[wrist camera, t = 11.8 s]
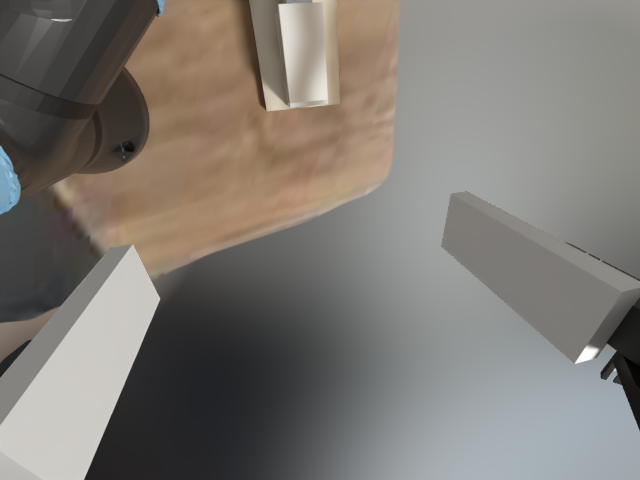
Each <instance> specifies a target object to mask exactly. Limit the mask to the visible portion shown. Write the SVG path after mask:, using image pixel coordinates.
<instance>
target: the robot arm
mask: <svg viewBox="0 0 640 480" xmlns="http://www.w3.org/2000/svg"><path fill="white" fill-rule="evenodd" d="M164 2H165V0H0V214H2V213H4V212H7V211H9V210H10V209H11V208H12V207H13V206H14V205H16V204H17V203H19V202H21V201H23V200H25V199H27V198H28V197H30V196H32V195H34V194H36V193H38V192H40V191H42V190H43V189H45V188H47V187H49V186H51V185H53V184H55V183H57V182H58V181H60V180H62V179H64V178H66V177H68V176H70V175H72V174H73V173H78V174H98V173H105V172H109V171H112V170H115V169H118V168H120V167H122V166H124V165H125V164H127V163H128V162H130V161H131V160H133V159H134V158H135V157H136V156H137V155H138V154H139V153H140V152H141V150H142V149H143V147H144V145H145V143H146V141H147V138H148V134H149V113H148V108H147V105H146V102H145V99H144V96H143V94H142V92H141V90H140V88H139V86H138V84H137V83H136V81H135V80H134V78H133V77H132V75H131V74H130V73H129V72H128V70H127V69H126V68H125V67H124V66H125V64H126V63H127V61H128V59H129V58H130V56H131V55H132V53H133V51H134V50H135V48H136V47H137V45H138V43H139V42H140V40H141V39H142V37H143V35H144V34H145V32H146V31H147V29H148V27H149V26H150V24H151V23H152V21H153V19H154V18H155V16H157V17H160V16H161V15H162V13H163V11H164ZM441 247H443V248H444V249H445V250H446V251H447V252H448V253H450V254H451V255H452V256H453V257H454V258H455V259H456V260H457V261H458V262H460V263H461V264H462V265H463V266H464V267H465V268H467V269H468V270H469V271H470V272H471V273H472V274H473V275H475V276H476V277H477V278H478V279H479V280H480V281H481V282H482V283H483V284H485V285H486V286H487V287H488V288H489V289H490V290H491V291H493V292H494V293H495V294H496V295H497V296H498V297H499V298H500V299H502V300H503V301H504V302H505V303H506V304H507V305H509V306H510V307H511V308H512V309H513V310H514V311H515V312H516V313H518V314H519V315H520V316H521V317H522V318H523V319H524V320H526V321H527V322H528V323H529V324H530V325H531V326H532V327H533V328H535V329H536V330H537V331H538V332H539V333H540V334H541V335H543V336H544V337H545V338H546V339H547V340H548V341H549V342H551V343H552V344H553V345H554V346H555V347H556V348H557V349H558V350H560V351H561V352H562V353H563V354H564V355H565V356H566V357H567V358H569V359H570V360H571V361H572V362H573V363H574V364H576V363H579V362H583V361H587V360H590V359H594V358H597V357H598V355H599V354H600V352H601V351H602V350H603V348H604V347H605V345H606V344H609V345H610V346H611V347H613V348H614V349H615V350H617V351H616V353H615V354H614V355H613V357H612V358H611V359H610V361H609V362H608V363H607V365H606V366H605V367H604V368H603V370H602V371H601V379H605V380H606V379H607V378H608V377H609V375H610V374H611V373H612V371H617V373H618V375H617V376H616V377H615V379H614V380H613V382H614V383H617V384H621V385H622V386H623V389H624V391H625V394H626V397H627V399H628V402H629V404H630V407H631V409H632V412H633V415H634V417H635V420H636V422H637V425H638V427H639V430H640V280H639V279H637V278H635V277H633V276H631V275H629V274H628V273H626V272H624V271H622V270H620V269H618V268H616V267H614V266H612V265H610V264H608V263H606V262H604V261H600V259H598V258H596V257H595V256H593V255H591V254H586V252H585V251H583V250H581V249H579V248H577V247H575V246H573V245H571V244H569V243H566V242H563V241H561V240H559V239H557V238H555V237H553V236H552V235H550V234H548V233H546V232H544V231H542V230H540V229H538V228H536V227H534V226H532V225H530V224H528V223H527V222H524V221H523V220H521V219H519V218H517V217H515V216H513V215H511V214H509V213H507V212H505V211H503V210H501V209H500V208H498V207H496V206H494V205H492V204H490V203H488V202H486V201H484V200H482V199H480V198H478V197H476V196H475V195H473V194H471V193H469V192H467V191H466V192H459V193H453V194H451V196H450V202H449V207H448V213H447V218H446V223H445V229H444V234H443V239H442V245H441ZM159 300H160V298H159V296H158V294H157V292H156V290H155V288H154V286H153V284H152V282H151V280H150V278H149V276H148V274H147V272H146V270H145V268H144V266H143V264H142V262H141V260H140V258H139V256H138V254H137V252H136V250H135V248H134V246H133V244H131V245H125V246H119V247H112V248H110V249H109V250H108V251H107V252H106V254H105V255H104V256H103V257H102V258H101V260H100V261H99V262H98V263H97V264H96V265H95V267H94V268H93V269H92V270H91V271H90V272H89V274H88V275H87V276H86V277H85V278H84V280H83V281H82V282H81V283H80V284H79V285H78V287H77V288H76V289H75V290H74V291H73V293H72V294H71V295H70V296H69V297H68V298H67V300H66V301H65V302H64V303H63V304H62V306H61V307H60V308H59V309H58V310H57V312H56V313H55V314H54V315H53V316H52V317H51V319H50V320H49V321H48V322H47V323H46V324H45V326H44V327H43V328H42V329H41V330H40V332H39V333H38V334H37V335H36V336H35V337H34V339H33V340H29V341H27V342H25V343H24V344H23V345H21V346H20V347H19V348H18V349H16V350H15V351H14V352H12V353H11V354H10V355H9V356H8V357H6V358H5V359H4V360H3V361H2V362H1V363H0V480H84V478H85V475H86V473H87V471H88V469H89V466H90V464H91V461H92V459H93V456H94V454H95V452H96V449H97V447H98V445H99V442H100V440H101V438H102V435H103V433H104V431H105V428H106V426H107V424H108V421H109V419H110V416H111V414H112V412H113V409H114V407H115V405H116V402H117V400H118V397H119V395H120V393H121V390H122V388H123V386H124V383H125V381H126V378H127V376H128V374H129V371H130V369H131V366H132V364H133V362H134V360H135V357H136V355H137V353H138V350H139V348H140V345H141V343H142V341H143V338H144V336H145V333H146V331H147V329H148V326H149V324H150V322H151V319H152V317H153V315H154V312H155V310H156V307H157V305H158V303H159Z"/></svg>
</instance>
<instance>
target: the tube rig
mask: <svg viewBox="0 0 640 480" xmlns="http://www.w3.org/2000/svg"><path fill="white" fill-rule="evenodd" d="M312 2H313V3H293V4H283V0H249V3H250V10H251V16H252V22H253V29H254V35H255V41H256V47H257V54H258V60H259V66H260V73H261V79H262V85H263V92H264V98H265V104H266V110H267V111H274V110H284V109H294V108H303V107H313V106H323V105H333V104H340V98H339V68H338V37H337V7H336V0H312Z"/></svg>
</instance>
